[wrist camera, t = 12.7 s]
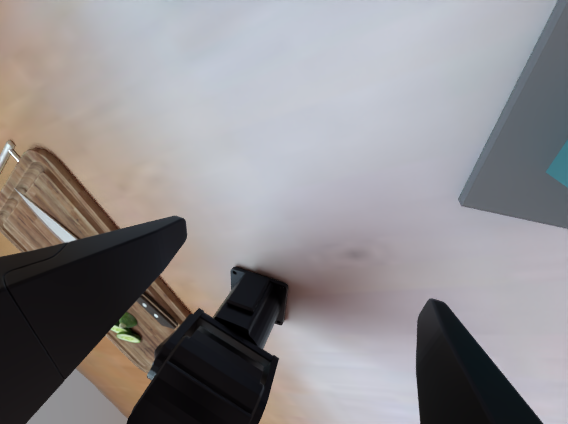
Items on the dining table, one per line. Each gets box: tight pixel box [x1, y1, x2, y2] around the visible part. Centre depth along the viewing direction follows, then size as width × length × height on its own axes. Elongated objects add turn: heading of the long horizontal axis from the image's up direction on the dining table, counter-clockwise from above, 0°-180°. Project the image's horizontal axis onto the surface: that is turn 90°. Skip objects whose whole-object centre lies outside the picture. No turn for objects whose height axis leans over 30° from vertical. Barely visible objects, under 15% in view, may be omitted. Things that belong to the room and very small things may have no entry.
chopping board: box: [0, 140, 190, 373], centre depth 40 cm, size 45×27×3 cm, turn 33°
